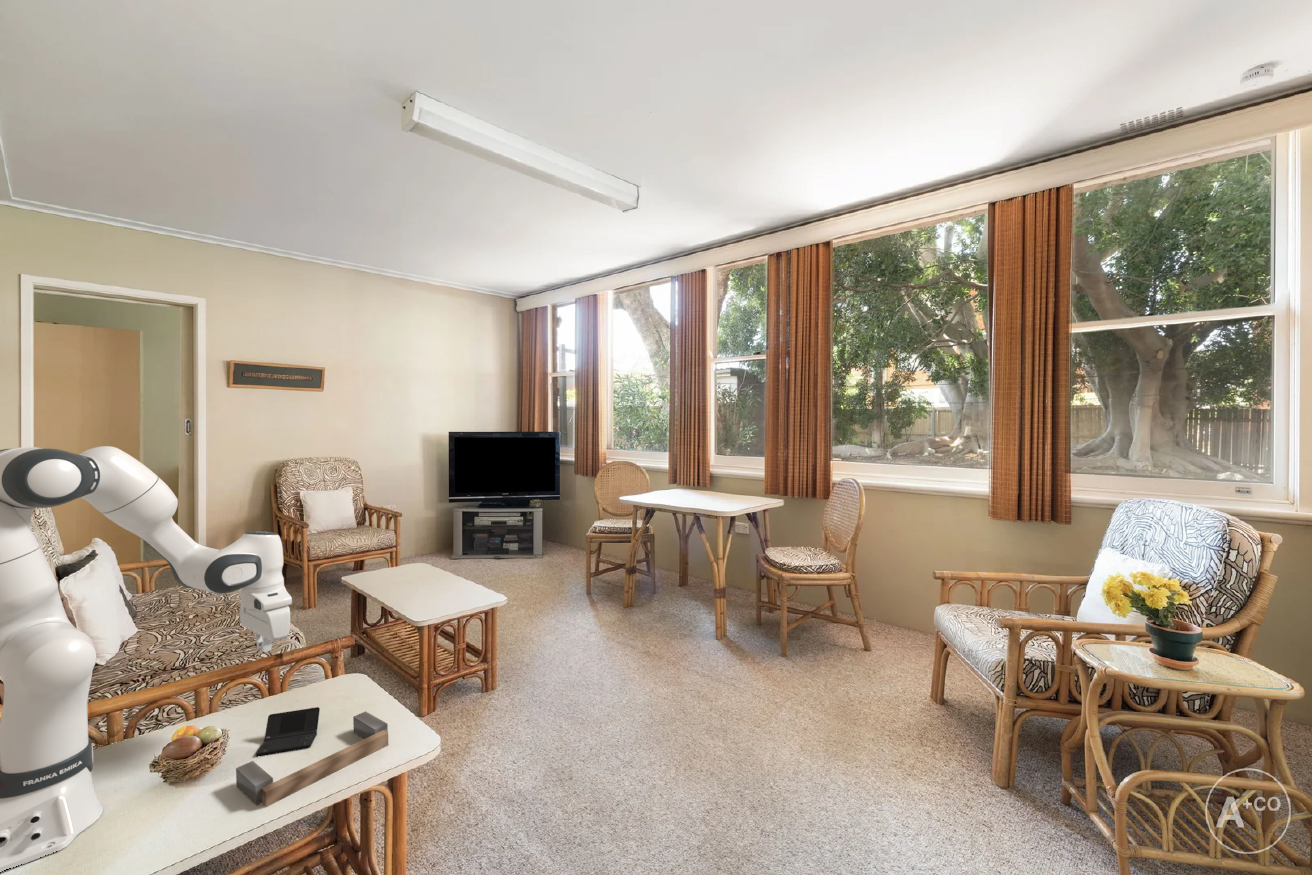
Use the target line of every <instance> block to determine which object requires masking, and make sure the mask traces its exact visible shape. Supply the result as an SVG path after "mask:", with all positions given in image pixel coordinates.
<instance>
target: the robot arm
mask: <svg viewBox="0 0 1312 875" xmlns="http://www.w3.org/2000/svg"><path fill="white" fill-rule="evenodd" d="M79 498H80V499H82V500H83V501H85V502H88V503H89V504H90V505H91V506H92V507H94V509H96V510H97V511H98V512H99V513H101V515H103V516H104V517H106V518H107V519H109V520H110V521H111V522H113V523H114V524H116V525H118V526H119V527H121V528H122V529H124V530H127V532H130V533H131V534H134V535H135V536H136V537H139V538H140V539H141V540H143V541H144V543H146V544H147V545H148V546H149V547H151V548H152V550H154V551H155V552H156V553H157V554H159V555H160V557H162V558H163V559H164V561H166V562H167V564H168V565H169V569H170V570H171V573H172V577H173V578H174V579H175V581H176V582H177V584H179V585H180V586H181V587H184V588H187V589H190V590H200V591H205V592H207V593H214V594H218V595H219V594H220V595H221V594H230V593H232V592H235V591H239V590H240V605H239V606H240V608H239V621H240V622H239V623H240V625H241V626H242V627H245V629H248V630H249V631H252V632H253V635H254V638H255V641H256V648H257V649H258V650H260V651H262V652H264V653H267V652H270V651H272V643H273V642H276V641H279V640H280V641H281V640H284V639H287V638H288V637H289V635H290V631H291V610H290V605H292V604H293V598H292V596H291V594H290V593H289V592H288V590H287V589H286V586H285V577H284V575H283V567H284V549H283V542H282V540H281V537H280V535H279V534H278V533H276V532H273V531H264V530H263V531H262V530H251V531H246V532H243V533H242V535H241V536H240V537H239V538H238V539H237V540H236V541H234V542H233V543H231V544H229V545H227V546H226V547H223V548H221V549H217V548H214V547H210V546H208V545H203V544H200V543H198V542H196V541H195V540H194V539H193V538H192V537H190V535H188V533H186V532H185V531H184V530H183V529H182V528H181V527H180V526H179V525H178V524H177V523H176V522H175V521H174V519H173V516H174V515H175V513H176V511H177V508H178V505H179V500H178V498H177V496H176V495H175V493H174V491H172V489H171V487H169V485H167V483H166V482H165V481H163V479H161V477H159V476H158V475H157V474H156V473H154V472H153V470H151V469H150V468H148V466H146V465H144V463H142V462H141V461H139V460H138V459H136V458H135V457H133V456H132V455H130V454H128V452H125V451H123V450H121V449H120V448H119V447H116V446H111V445H104V446H103V445H102V446H101V445H100V446H96V447H91V448H90V449H89V448H88V449H87V450H83V451H82V452H80V453H79V454H77V453H73V452H70V451H68V450H67V451H66V450H62V449H58V448H57V449H56V448H42V447H36V446H35V447H34V446H24V447H23V446H20V447H14V448H4V449H0V677H1V679H2V683H3V688H4V690H3V702H2V704H3V705H2V711H1V719H0V871H3V870H6V869H9V868H11V869H14V868H16V866H17V867H18V865H19V866H22V865H25V864H27V863H29V862H33V861H35V860H39V859H40V857H41V858H43V857H46V856H48V854H49V855H51V854H54V853H57V852H60V851H61V850H63V849H65V848H66V847H68V846H69V845H70V844H71V842H72V841H73V840H74V839H75V838H76V837H77V836H78V835H79V834H81V833H82V832H83V831H85V830H86V829H88V827H90V826H91V825H92V824H93V823H95V822H96V821H98V818H100V816H101V815H102V813H103V811H104V805H103V803H102V802H101V800H100V799H99V796H98V794H97V790H96V788H95V787H96V786H95V784H94V780H93V774H92V771H93V770H94V769H93V765H94V748H93V747H94V746H93V744H92V741H91V740H90V738H89V722H88V721H89V717H88V716H89V714H88V701H89V693H90V687H91V683H92V676H93V669H94V667H95V665H96V663H97V651H96V647H95V645H94V642H93V640H92V638H91V637H90V636H89V635H88V634H86V633H85V632H83V631H82V630H80V629H78V628H77V627H75V626H74V625H73V623H72V622H71V621H70V619H69V618H68V615H67V613H66V610H65V607H64V605H63V601H62V598H61V594H60V590H59V583H58V581H57V579H56V576H55V574H54V573H53V571H52V568H51V566H50V565H49V562H48V560H47V558H46V555H45V554H44V551H43V549H42V548H41V545H40V543H39V541H38V540H37V537H36V536H35V534H34V533H33V531H32V530H33V528H32V516H33V513H34V511H35V510H36V509H41V508H42V509H46V508H47V509H49V508H53V507H58V506H61V505H62V506H63V505H64V504H67V503H70V502H72V501H75V500H77V499H79ZM56 851H57V852H56ZM53 852H54V853H53ZM45 855H46V856H45ZM21 864H22V865H21ZM13 867H14V868H13ZM9 870H10V869H9ZM6 871H7V870H6ZM3 872H4V871H3Z"/></svg>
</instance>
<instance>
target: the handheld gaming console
mask: <svg viewBox="0 0 1312 875" xmlns="http://www.w3.org/2000/svg"><path fill="white" fill-rule="evenodd" d="M320 710H321V709H320V707H319V706H317V707H311V708H305V709H297V710H291V711H285V712H279V713H277V712H275V713H271V714H268V717H267V722H266V726H265V727H266V728H265V733H264V738H263V742H262V744H261V745H260V747H259V748H258V749H257V751H256V753H255V757H256V758H258V756H260V757H264V756H265V755H266V756H270V755H277V754H283V753H287V752H295V751H299V750H303V749H305V750H306V749H307V750H308V749H310V748H311V746H312V745H313V742H314V741H315V739H316V738H317V735H318V727H319V720H320Z"/></svg>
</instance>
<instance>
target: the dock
mask: <svg viewBox="0 0 1312 875" xmlns="http://www.w3.org/2000/svg"><path fill="white" fill-rule="evenodd" d="M352 718H353V724H352V725H353V733H354V734H355V735H357V736H358V737H360V738H362V739H361V740H359V741H356V742H355V743H354V744H352V745H349V746H347V747H345V748H343V749H341V750H339V751H337V752H335V753H332V754H330V755H329V756H327V757H324V758H322V759H319V760H318V761H316V762H314V763H311V764H309V765H307V766H305V767H303V768H301V769H299V770H297V771H295V772H293V773H291V774H288V775H287V776H284V777H282V778H280V779H278V780H276V781H274V777H273V776H271V775H270V774H269V773H268V772H266V771H265V770H264V769H263V768H262V767H261V766H259V764H257V763H256V762H255V761H254V760H251V761H249V762H247V763H244V764H242V765H240V766H238V767H235V777H236V778H235V780H236V782H235V783H236V789H238V790H239V791H240V792H241V793H242V794H243V795H244V796H245V797H246V798H247V799H248V800H250V802H252V803H253V805H254V806H257V807H258V806H259V805H261V804H262V805H264V806H265V807H269V806H271V805H273V804H275V803H277V802H279V801H281V800H282V799H285V798H287V797H289V796H291V795H293V794H295V793H297V792H298V791H300V790H303V789H305V788H307V787H308V786H310V785H312V784H314V783H316V782H318V781H320V780H322V779H324V778H326V777H328V776H331V775H332V774H334V773H336V772H338V771H340V770H342V769H344V768H346V767H348V766H350V765H352V764H354V763H356V762H358V761H360V760H362V759H364V758H366V757H367V756H369V755H371V754H373V753H375V752H377V751H379V750H382V749H383V748H385V747H388V746H389V730H388V729H389V728H388V726H389V725H388V723H387V722H385V721H384V720H382V719H380V718H378V717H376V716H375V715H373V714H371V713H369V712H368V711H363V712H361V713H359V714H356V715H354V716H353V717H352Z"/></svg>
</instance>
